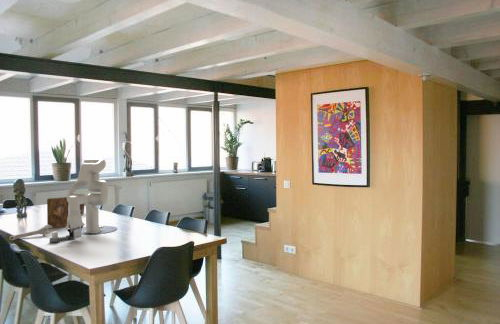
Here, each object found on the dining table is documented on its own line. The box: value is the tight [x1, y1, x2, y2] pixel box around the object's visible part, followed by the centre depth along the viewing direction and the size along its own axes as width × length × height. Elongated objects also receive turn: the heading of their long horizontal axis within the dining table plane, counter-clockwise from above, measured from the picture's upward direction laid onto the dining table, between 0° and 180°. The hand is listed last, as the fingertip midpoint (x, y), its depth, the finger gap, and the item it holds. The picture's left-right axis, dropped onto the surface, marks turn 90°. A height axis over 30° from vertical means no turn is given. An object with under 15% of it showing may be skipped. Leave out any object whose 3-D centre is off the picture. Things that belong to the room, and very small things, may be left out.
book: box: [46, 196, 69, 229], centre depth 359 cm, size 16×6×25 cm, turn 129°
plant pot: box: [80, 203, 86, 215], centre depth 425 cm, size 16×16×16 cm
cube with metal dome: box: [69, 227, 82, 240], centre depth 310 cm, size 6×6×8 cm
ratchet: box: [49, 231, 74, 244], centre depth 311 cm, size 18×7×8 cm, turn 147°
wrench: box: [9, 224, 53, 241], centre depth 321 cm, size 8×2×30 cm
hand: (75, 236), depth 310 cm, fingers closed on cube with metal dome, 6 cm apart
